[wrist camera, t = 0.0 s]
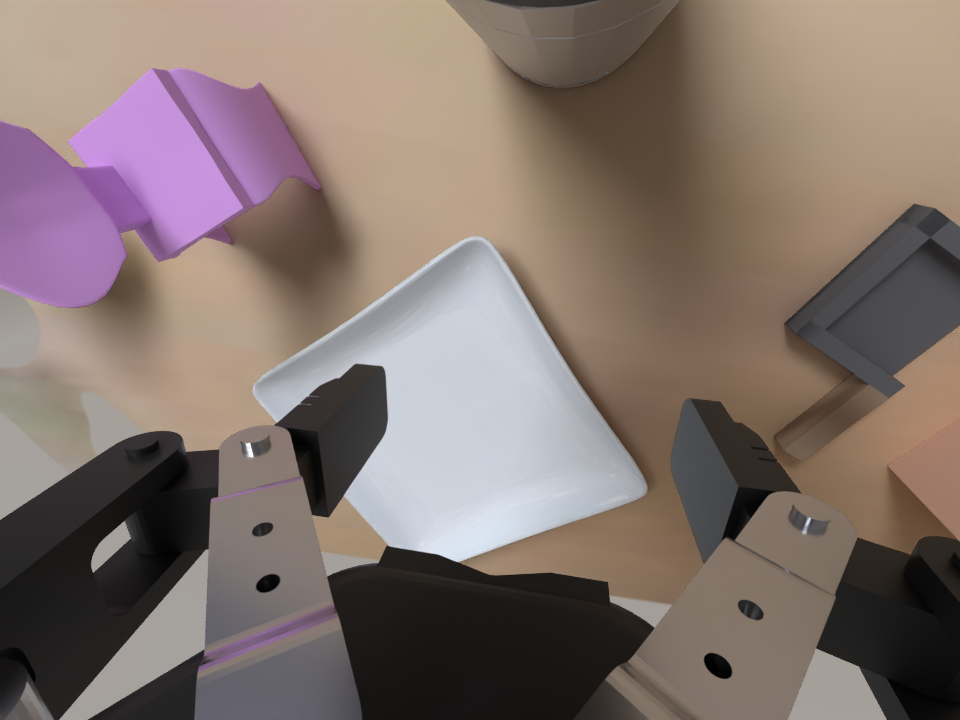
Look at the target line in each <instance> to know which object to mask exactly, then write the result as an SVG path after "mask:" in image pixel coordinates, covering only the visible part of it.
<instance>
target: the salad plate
mask: <svg viewBox="0 0 960 720" xmlns="http://www.w3.org/2000/svg"><path fill="white" fill-rule="evenodd" d="M356 363H357V364H367V365H376V366H382V367H383V368H384V370H385V374H386V389H387V407H388V423H387V428H386V432H385V434H384V437H383V438H382V440H381V441H380V443H379V444H378V446H377V447H376V449H375V450H374V452H373V453H372V454H371V456H370V457H369V459H368V460H367V462H366V463H365V465H364V466H363V468H362V469H361V471H360V472H359V474H358V475H357V477H356V478H355V480H354V481H353V482H352V484H351V485H350V487H349V488H348V490H347V491H346V493H345V494H344V497H345V498H346V499H347V500H348V501H349V502H350V503H351V504H352V505H353V507H354V508H355V509H356V510H357V511H358V512H359V513H360V514H361V515H362V517H363V518H364V519H365V520H366V521H367V522H368V523H369V524H370V525H371V526H372V528H373V529H374V530H375V531H376V532H377V533H378V534H379V535H380V536H381V537H382V539H383V540H384V541H385V542H386V543H387V544H388V545H389V546H390V547H396V548H402V549H408V550H414V551H420V552H426V553H433V554H438V555H441V556H443V557H446V558H448V559H451V560H453V561H456V562H461V561H463V560H466V559H469V558H471V557H474V556H477V555H480V554H483V553H486V552H488V551H491V550H493V549H496V548H499V547H502V546H505V545H507V544H510V543H513V542H516V541H519V540H521V539H524V538H527V537H530V536H532V535H535V534H538V533H542V532H544V531H547V530H550V529H553V528H556V527H559V526H562V525H565V524H568V523H571V522H574V521H577V520H580V519H584V518H587V517H590V516H593V515H596V514H599V513H601V512H604V511H607V510H610V509H613V508H616V507H619V506H622V505H624V504H627V503H630V502H632V501H635V500H637V499H639V498H642V497H643V496H644V495H646V493H647V492H648V487H647V483H646V480H645V478H644V476H643V474H642V473H641V471H640V469H639V468H638V466H637V464H636V463H635V461H634V460H633V458H632V457H631V455H630V454H629V452H628V451H627V450H626V449H625V447H624V446H623V444H622V443H621V441H620V440H619V439H618V437H617V436H616V435H615V433H614V432H613V431H612V429H611V428H610V427H609V425H608V424H607V422H606V421H605V420H604V418H603V417H602V415H601V414H600V412H599V411H598V410H597V408H596V407H595V405H594V404H593V402H592V401H591V399H590V398H589V396H588V395H587V394H586V392H585V391H584V389H583V388H582V386H581V385H580V383H579V382H578V380H577V379H576V377H575V375H574V374H573V372H572V371H571V369H570V368H569V366H568V364H567V363H566V361H565V360H564V358H563V357H562V355H561V353H560V352H559V350H558V349H557V347H556V345H555V344H554V342H553V341H552V339H551V337H550V336H549V334H548V332H547V331H546V329H545V327H544V325H543V324H542V322H541V320H540V319H539V317H538V316H537V314H536V312H535V310H534V308H533V307H532V305H531V303H530V301H529V300H528V298H527V296H526V295H525V293H524V291H523V289H522V288H521V286H520V284H519V283H518V281H517V279H516V277H515V276H514V274H513V273H512V271H511V269H510V268H509V266H508V265H507V263H506V262H505V260H504V258H503V257H502V255H501V254H500V253H499V251H498V250H497V249H496V247H495V246H494V245H493V244H492V243H491V242H490V241H489V240H488V239H486V238H484V237H481V236H471V237H468V238H466V239H464V240H462V241H460V242H458V243H456V244H455V245H453V246H451V247H450V248H448V249H447V250H446V251H444V252H443V253H441V254H440V255H438V256H437V257H435V258H434V259H432V260H431V261H430V262H428V263H427V264H426V265H424V266H423V267H422V268H420V269H419V270H418V271H416V272H415V273H414V274H412V275H411V276H409V277H408V278H407V279H405V280H404V281H402V282H401V283H400V284H398V285H397V286H396V287H394V288H393V289H392V290H390V291H389V292H387V293H386V294H385V295H383V296H382V297H380V298H379V299H378V300H376V301H375V302H373V303H372V304H371V305H369V306H368V307H366V308H365V309H364V310H362V311H361V312H359V313H358V314H357V315H355V316H354V317H353V318H351V319H350V320H348V321H347V322H345V323H344V324H342V325H341V326H339V327H338V328H336V329H335V330H333V331H332V332H330V333H328V334H327V335H325V336H324V337H322V338H321V339H319V340H318V341H316V342H314V343H313V344H311V345H310V346H308V347H307V348H305V349H303V350H302V351H300V352H298V353H297V354H295V355H293V356H292V357H290V358H288V359H287V360H285V361H283V362H282V363H280V364H278V365H277V366H275V367H273V368H272V369H271V370H269V371H268V372H266V373H265V374H264V375H263V376H261V377H260V378H259V379H258V380H257V381H256V382H255V384H254V386H253V389H252V390H253V394H254V396H255V398H256V399H257V400H258V402H259V403H260V404H261V405H262V407H263V408H264V409H265V410H266V411H267V412H268V413H269V414H270V416H271V417H272V418H273V419H274V420H275V421H276V422H277V423H278V422H279V421H280V420H281V419H282V418H283V417H284V416H286V415H287V414H288V413H289V412H290V411H291V410H292V409H293V408H295V407H296V406H297V405H298V404H299V405H300V402H301V401H303V400H304V399H305V398H306V397H309V394H311V393H312V392H313V391H314V390H315V389H316V388H317V387H318V386H320V385H322V384H324V383H326V382H328V381H331V380H333V379H335V378H340V377H341V376H342V375H343V374H344V373H346V372H347V371H348V370H349V369H350V368H351V367H352V366H353V365H354V364H356Z"/></svg>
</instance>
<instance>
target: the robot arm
mask: <svg viewBox="0 0 960 720" xmlns="http://www.w3.org/2000/svg"><path fill="white" fill-rule="evenodd" d="M446 1H447V2H448V3H449V4H450V5H451V7H452V8H453V9H454V10H455V11H456V12H457V13H458V14H459V15H460V16H461V17H462V18H463V19H464V20H465V21H466V23H467V24H468V25H469V26H470V27H471V28H472V29H473V30H474V31H475V32H476V33H477V34H478V35H479V36H480V37H481V39H482V40H483V41H484V42H485V43H486V44H487V45H488V46H489V47H490V48H491V49H492V50H493V51H494V52H495V53H496V54H497V55H498V56H499V58H500V59H501V60H502V61H503V62H504V63H505V64H506V65H507V66H508V67H509V68H510V69H511V70H513V71H514V72H516V74H518V75H519V76H521V77H523V78H524V79H526V80H528V81H531V82H533V83H536V84H538V85H541V86H546V87H553V88H570V87H579V86H583V85H585V84H588V83H591V82H594V81H597V80H599V79H601V78H603V77H604V76H606V75H608V74H609V73H611V72H613V71H614V70H616V69H617V68H619V67H620V66H621V65H622V64H623V63H624V62H625V61H626V60H627V59H629V58H630V57H631V56H632V55H633V54H634V53H635V52H636V51H637V50H638V49H639V47H640V46H641V45H642V44H643V43H644V41H645V40H646V39H647V38H648V37H649V36H650V35H651V34H652V33H653V31H654V30H655V29H656V28H657V27H658V26H659V24H660V23H661V22H662V21H663V20H664V18H665V17H666V16H667V15H668V14H669V13H670V11H671V10H672V9H673V8H674V7H675V6H676V4H677V3H678V2H679V1H680V0H446ZM387 423H388V407H387V389H386V374H385V370H384V368H383V367H382V366H376V365H367V364H357V363H356V364H354V365H353V366H352V367H351V368H350V369H349V370H348V371H347V372H346V373H344V374H343V375H342V376H341V377H340V378H335V379H333V380H331V381H328V382H326V383H324V384H322V385H320V386H318V387H317V388H316V389H315V390H314V391H313V392H312V393H311V394H309V397H306V398H305V399H304V400H303V401H301V402H300V405H299V404H298V405H297V406H296V407H295V408H293V409H292V410H291V411H290V412H289V413H288V414H287V415H286V416H284V417H283V418H282V419H281V420H280V421H279V422H278V423H276V424H275V425H274V426H271V425H265V426H256V427H251V428H247V429H244V430H241V431H239V432H237V433H235V434H233V435H231V436H230V437H228V438H227V439H226V440H225V441H224V442H223V443H222V444H221V446H220V449H219V450H207V451H193V452H186V450H185V446H184V443H183V439H182V437H181V436H180V435H179V434H177V433H175V432H170V431H155V432H149V433H144V434H140V435H136V436H133V437H130V438H128V439H125V440H123V441H121V442H119V443H117V444H115V445H114V446H112V447H111V448H109V449H107V450H106V451H105V452H103V453H101V454H100V455H98V456H97V457H95V458H94V459H92V460H91V461H89V462H88V463H86V464H85V465H83V466H82V467H80V468H79V469H77V470H75V471H74V472H72V473H71V474H69V475H68V476H66V477H65V478H63V479H62V480H60V481H59V482H57V483H56V484H54V485H53V486H51V487H50V488H48V489H47V490H45V491H44V492H42V493H41V494H39V495H37V496H36V497H35V498H33V499H31V500H30V501H28V502H27V503H25V504H24V505H22V506H21V507H19V508H18V509H16V510H15V511H13V512H12V513H10V514H9V515H7V516H6V517H4V518H3V519H1V520H0V720H59V719H60V718H61V717H62V716H63V714H64V713H65V712H66V711H67V710H68V709H69V708H70V706H71V705H72V704H73V703H74V702H75V701H76V699H77V698H78V697H79V696H80V695H81V693H82V692H83V691H84V690H85V689H86V688H87V687H88V685H89V684H90V683H91V682H92V681H93V680H94V678H95V677H96V676H97V675H98V674H99V673H100V672H101V670H102V669H103V668H104V667H105V666H106V665H107V663H108V662H109V661H110V660H111V659H112V658H113V656H114V655H115V654H116V653H117V652H118V651H119V649H120V648H121V647H122V646H123V645H124V644H125V643H126V641H127V640H128V639H129V638H130V637H131V636H132V634H133V633H134V632H135V631H136V630H137V629H138V627H139V626H140V625H141V624H142V623H143V622H144V621H145V619H146V618H147V617H148V616H149V614H151V612H152V611H153V610H154V609H155V608H156V607H157V605H158V604H159V603H160V602H161V601H162V600H163V598H164V597H165V596H166V595H167V594H168V593H169V592H170V590H171V589H172V588H173V587H174V586H175V585H176V583H177V582H178V581H179V580H180V579H181V578H182V577H183V575H184V574H185V573H186V572H187V571H188V570H189V568H190V567H191V566H192V565H193V564H194V563H195V561H196V560H197V559H198V558H199V557H200V556H201V555H202V553H203V552H204V551H205V550H206V549H209V554H208V579H207V604H206V629H205V649H204V650H203V651H201V652H199V653H198V654H196V655H194V656H193V657H191V658H189V659H188V660H186V661H184V662H183V663H181V664H180V665H178V666H176V667H175V668H173V669H171V670H170V671H168V672H166V673H165V674H163V675H161V676H160V677H158V678H156V679H155V680H153V681H151V682H150V683H148V684H146V685H145V686H143V687H141V688H140V689H138V690H137V691H135V692H133V693H132V694H130V695H129V696H126V697H125V698H123V699H121V700H120V701H118V702H116V703H115V704H113V705H112V706H110V707H108V708H107V709H105V710H103V711H102V712H100V713H98V714H97V715H95V716H93V717H92V718H90V719H88V720H788V717H789V715H790V713H791V710H792V707H793V705H794V702H795V700H796V697H797V695H798V692H799V689H800V687H801V685H802V682H803V679H804V677H805V675H806V672H807V670H808V667H809V664H810V662H811V659H812V657H813V654H814V652H815V649H816V648H817V649H819V650H821V651H824V652H826V653H828V654H831V655H833V656H835V657H838V658H840V659H842V660H845V661H847V662H850V663H852V664H855V665H857V666H859V667H860V669H861V672H862V673H863V675H864V677H865V679H866V681H867V683H868V685H869V687H870V689H871V690H872V692H873V694H874V696H875V698H876V699H877V702H878V704H879V705H880V707H881V709H882V711H883V713H884V715H885V717H886V719H887V720H960V541H958V540H955V539H950V538H946V537H938V536H929V537H924V538H922V539H920V540H919V541H918V543H917V545H916V546H915V548H914V550H913V552H912V554H911V555H909V554H906V553H903V552H900V551H897V550H894V549H891V548H888V547H885V546H881V545H878V544H875V543H872V542H869V541H866V540H863V539H860V538H858V537H857V530H856V528H855V526H854V525H853V524H852V522H851V521H850V520H849V519H848V518H847V517H846V516H845V515H844V514H842V513H841V512H840V511H838V510H837V509H835V508H834V507H832V506H830V505H829V504H827V503H825V502H823V501H821V500H818V499H816V498H813V497H811V496H808V495H804V494H801V492H800V491H799V490H798V488H797V487H796V485H795V484H794V483H793V481H792V480H791V479H790V477H789V476H788V475H787V473H786V472H785V470H784V469H783V468H782V466H781V465H780V464H779V463H777V459H776V458H775V457H774V455H773V454H772V453H771V451H768V450H769V449H768V447H767V446H766V444H765V443H764V442H763V440H762V439H761V438H760V436H759V435H758V434H756V433H755V432H753V431H752V430H751V429H749V428H748V427H746V426H745V425H744V424H742V423H736V422H734V421H733V420H732V418H731V417H730V415H729V414H728V412H727V411H726V409H725V408H724V406H723V405H722V403H721V402H719V401H710V400H700V399H690V398H688V399H686V400H685V402H684V404H683V407H682V411H681V415H680V420H679V424H678V428H677V432H676V436H675V441H674V445H673V449H672V455H671V470H672V475H673V478H674V481H675V484H676V486H677V489H678V492H679V495H680V498H681V501H682V503H683V506H684V509H685V512H686V515H687V518H688V520H689V523H690V526H691V529H692V532H693V535H694V537H695V540H696V543H697V546H698V549H699V552H700V554H701V557H702V560H703V563H704V565H703V567H702V568H701V569H700V570H699V572H698V573H697V574H696V576H695V577H694V578H693V579H692V581H691V582H690V583H689V585H688V586H687V587H686V588H685V590H684V591H683V592H682V594H681V595H680V596H679V597H678V599H677V600H676V601H675V603H674V604H673V605H672V607H671V608H670V609H669V610H668V612H667V613H666V614H665V616H664V617H663V618H662V619H661V621H660V622H659V623H658V625H657V626H656V627H655V628H654V627H653V626H651V625H650V624H649V623H647V622H646V621H645V620H643V619H642V618H640V617H638V616H637V615H635V614H633V613H632V612H630V611H628V610H626V609H624V608H622V607H621V606H619V605H616V604H614V603H611V602H610V598H609V588H608V582H604V581H598V580H592V579H586V578H579V577H573V576H567V575H561V574H555V573H537V574H518V575H498V576H495V575H488V574H485V573H483V572H480V571H478V570H475V569H473V568H470V567H468V566H465V565H463V564H461V563H458V562H456V561H453V560H451V559H448V558H446V557H443V556H441V555H438V554H433V553H426V552H420V551H414V550H408V549H402V548H396V547H390V546H386V548H385V551H384V553H383V555H382V557H381V559H380V561H379V563H372V564H365V565H359V566H355V567H352V568H348V569H345V570H342V571H339V572H337V573H334V574H332V575H330V576H327V575H326V571H325V567H324V562H323V558H322V554H321V550H320V546H319V542H318V538H317V534H316V530H315V526H314V521H313V517H312V515H316V516H322V517H328V518H329V516H330V515H331V513H332V512H333V510H334V509H335V508H336V506H337V505H338V503H339V502H340V500H341V499H342V497H343V496H344V494H345V493H346V491H347V490H348V488H349V487H350V485H351V484H352V482H353V481H354V480H355V478H356V477H357V475H358V474H359V472H360V471H361V469H362V468H363V466H364V465H365V463H366V462H367V460H368V459H369V457H370V456H371V454H372V453H373V452H374V450H375V449H376V447H377V446H378V444H379V443H380V441H381V440H382V438H383V437H384V434H385V432H386V428H387ZM124 521H125V523H126V525H127V528H128V531H129V534H130V537H131V539H130V540H129V541H128V542H127V543H126V544H124V545H123V546H122V547H121V548H120V549H119V550H118V551H117V552H116V553H115V554H114V555H112V557H110V558H109V559H108V560H107V561H106V562H105V563H104V564H103V565H102V566H101V567H99V568H98V569H97V570H96V571H95V572H94V573H93V572H92V569H91V560H92V556H93V553H94V551H95V549H96V547H97V546H98V544H99V543H100V542H101V541H102V540H103V539H104V538H105V537H106V536H107V535H108V534H110V533H111V532H112V531H113V530H114V529H115V528H117V527H118V526H119V525H120V524H121V523H122V522H124Z"/></svg>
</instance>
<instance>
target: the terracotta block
mask: <svg viewBox="0 0 960 720" xmlns="http://www.w3.org/2000/svg"><path fill="white" fill-rule="evenodd" d="M887 466H888V467H889V468H890V469H891V470H892V471H893V472H894V473H895V474H896V475H897V476H898V477H899V478H900V480H901V481H902V482H903V483H904V484H905V485H906V486H907V487H908V488H909V489H910V490H911V491H912V492H913V493H914V494H915V495H916V496H917V497H918V498H919V499H920V500H921V502H922V503H923V504H924V505H925V506H926V507H927V508H928V509H929V510H930V511H931V512H932V513H933V514H934V515H935V516H936V517H937V518H938V519H939V520H940V521H941V522H942V524H943V525H944V526H945V527H946V528H947V529H948V530H949V531H950V532H951V533H952V534H953V535H954V536H955V537H956V538H957V539H958V540H959V541H960V418H959V419H957V420H956V421H954V422H953V423H951V424H950V425H948V426H947V427H945V428H944V429H942V430H940V431H939V432H937V433H936V434H934V435H933V436H931V437H930V438H928V439H927V440H925V441H924V442H922V443H921V444H919V445H918V446H916V447H915V448H913V449H911V450H910V451H908V452H907V453H905V454H904V455H902V456H901V457H899V458H898V459H896V460H895V461H893V462H892V463H890V464H889V465H887Z"/></svg>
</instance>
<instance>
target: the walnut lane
mask: <svg viewBox="0 0 960 720" xmlns="http://www.w3.org/2000/svg"><path fill="white" fill-rule="evenodd" d="M887 399H888V397H887V396H885V395H884V394H882V393H881V392H879V391H878V390H876V389H875V388H874V387H872V386H871V385H869V384H868V383H866V382H865V381H864V380H862V379H861V378H859V377H858V376H856V375H855V374H852V375H851V376H849V377H848V378H847V379H846V380H844V381H843V382H842V383H841V384H839V385H838V386H837V387H836V388H834V389H833V390H832V391H831V392H829V393H828V394H827V395H825V396H824V397H823V398H822V399H820V400H819V401H818V402H817V403H815V404H814V405H813V406H812V407H810V408H809V409H808V410H806V411H805V412H804V413H803V414H801V415H800V416H799V417H798V418H796V419H795V420H794V421H793V422H791V423H790V424H789V425H787V426H786V427H785V428H784V429H782V430H781V431H780V432H779V433H777V434H776V435H775V436H774V437H775V439H776V440H777V442H778V443H779V445H780V446H781V447H782V449H783V450H784V451H785V452H787V453H788V454H790V455H791V456H793V457H794V458H796V459H798V460H799V461H801V462H802V461H804V460H805V459H806V458H808V457H809V456H810V455H812V454H813V453H815V452H816V451H817V450H819V449H820V448H821V447H823V446H824V445H825V444H827V443H828V442H830V441H831V440H832V439H834V438H835V437H836V436H838V435H839V434H841V433H842V432H843V431H845V430H846V429H847V428H849V427H850V426H851V425H853V424H854V423H856V422H857V421H858V420H860V419H861V418H862V417H864V416H865V415H866V414H868V413H869V412H871V411H872V410H873V409H875V408H876V407H877V406H879V405H880V404H882V403H883V402H884V401H886V400H887Z"/></svg>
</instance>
